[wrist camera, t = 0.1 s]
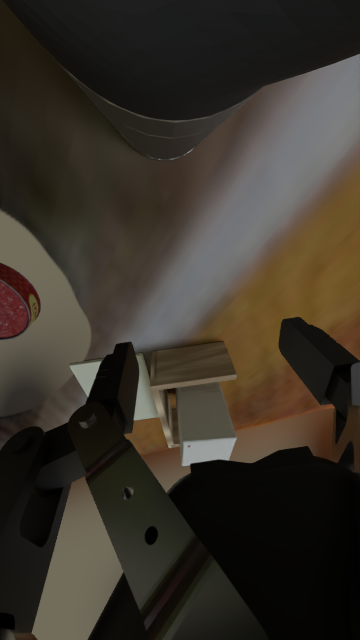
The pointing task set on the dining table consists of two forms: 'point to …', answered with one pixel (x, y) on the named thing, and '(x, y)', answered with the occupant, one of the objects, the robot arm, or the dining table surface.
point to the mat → (144, 399)
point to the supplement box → (203, 423)
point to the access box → (185, 377)
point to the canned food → (16, 303)
